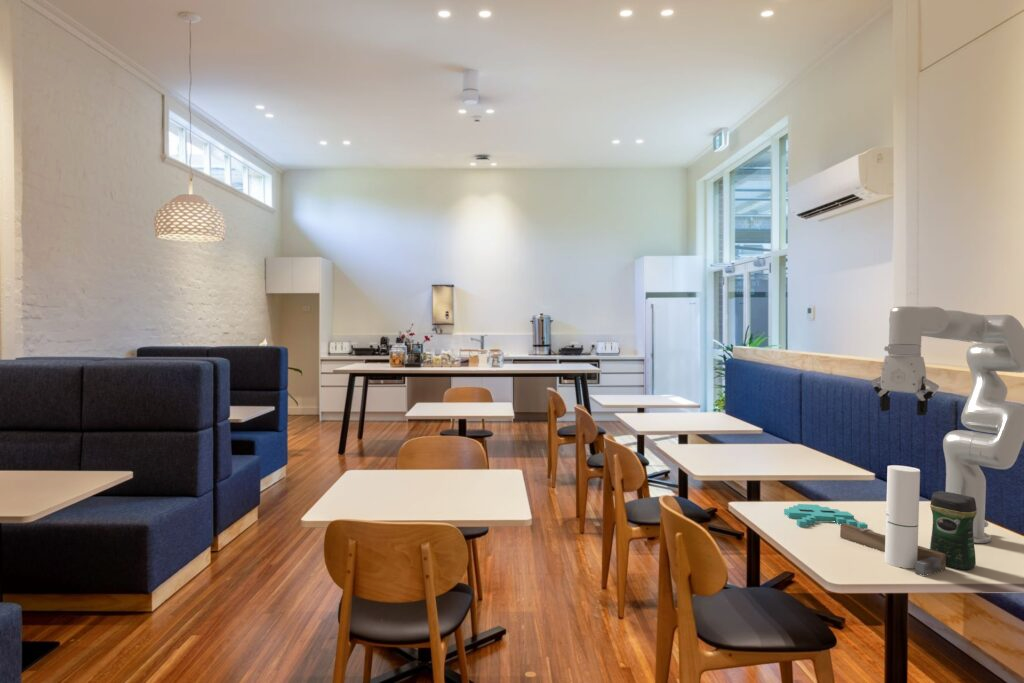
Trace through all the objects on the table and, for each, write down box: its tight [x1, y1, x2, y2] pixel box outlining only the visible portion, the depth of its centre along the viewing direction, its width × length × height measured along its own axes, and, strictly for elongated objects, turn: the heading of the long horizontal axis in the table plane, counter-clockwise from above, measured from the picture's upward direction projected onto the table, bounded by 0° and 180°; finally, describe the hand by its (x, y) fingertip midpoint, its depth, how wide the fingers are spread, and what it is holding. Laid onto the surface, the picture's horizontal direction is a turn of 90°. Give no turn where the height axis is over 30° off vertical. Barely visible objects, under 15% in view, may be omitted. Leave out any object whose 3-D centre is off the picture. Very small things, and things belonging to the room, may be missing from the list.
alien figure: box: [783, 503, 869, 529], centre depth 195 cm, size 20×2×20 cm
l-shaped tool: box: [839, 523, 947, 576], centre depth 163 cm, size 10×27×4 cm, turn 28°
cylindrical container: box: [884, 464, 921, 569], centre depth 157 cm, size 7×7×25 cm
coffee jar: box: [929, 490, 977, 570], centre depth 158 cm, size 10×8×19 cm
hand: (902, 412), depth 166 cm, fingers open, 9 cm apart
